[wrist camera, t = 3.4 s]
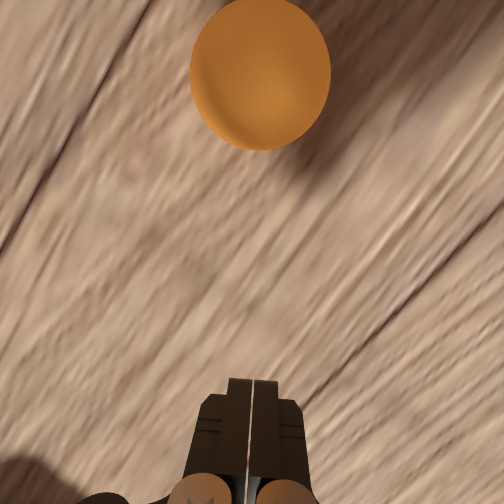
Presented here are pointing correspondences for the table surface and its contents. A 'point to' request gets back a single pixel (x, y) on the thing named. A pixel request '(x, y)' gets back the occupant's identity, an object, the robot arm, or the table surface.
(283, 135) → the ball
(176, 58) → the table surface
